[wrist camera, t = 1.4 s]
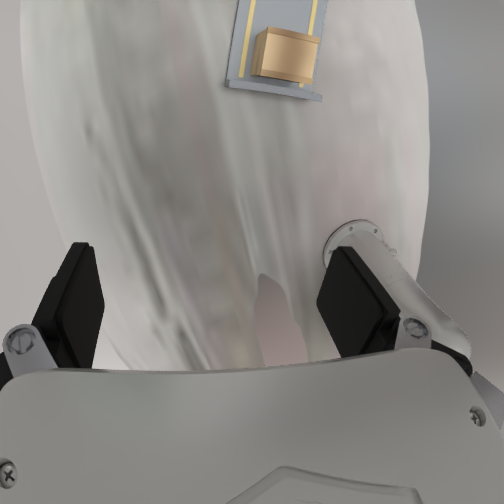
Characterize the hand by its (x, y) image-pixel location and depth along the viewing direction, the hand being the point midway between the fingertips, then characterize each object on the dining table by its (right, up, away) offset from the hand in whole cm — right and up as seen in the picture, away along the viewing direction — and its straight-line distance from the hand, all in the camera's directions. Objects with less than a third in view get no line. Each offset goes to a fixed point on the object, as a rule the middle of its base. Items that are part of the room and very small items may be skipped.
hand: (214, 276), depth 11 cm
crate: (+5, +27, +23) cm, 35 cm away
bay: (+4, +32, +21) cm, 38 cm away
